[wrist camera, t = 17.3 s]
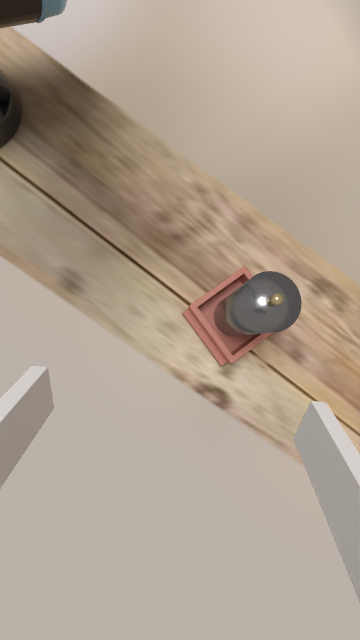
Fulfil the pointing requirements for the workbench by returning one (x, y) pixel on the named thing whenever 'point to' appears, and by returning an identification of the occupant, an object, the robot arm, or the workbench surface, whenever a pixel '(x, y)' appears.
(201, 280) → the workbench surface
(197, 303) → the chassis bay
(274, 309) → the motor housing
